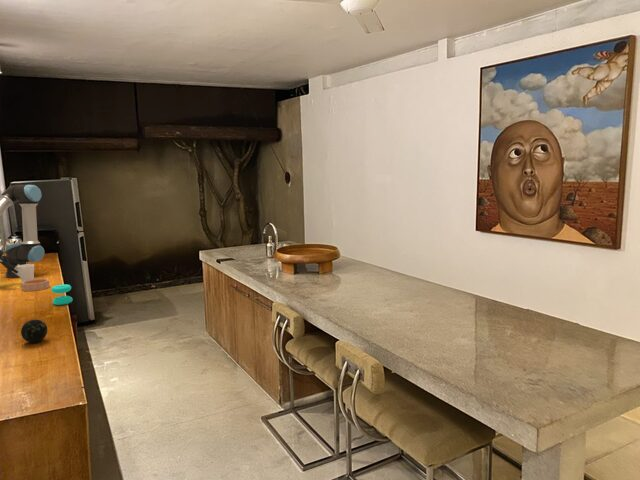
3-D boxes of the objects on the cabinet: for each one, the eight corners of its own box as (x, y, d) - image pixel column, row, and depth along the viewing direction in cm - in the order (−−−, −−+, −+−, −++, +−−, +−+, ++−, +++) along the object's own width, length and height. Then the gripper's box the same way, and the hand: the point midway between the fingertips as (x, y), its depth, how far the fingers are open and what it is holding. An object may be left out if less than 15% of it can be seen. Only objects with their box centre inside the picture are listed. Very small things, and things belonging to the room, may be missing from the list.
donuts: (72, 283, 283) (68, 287, 273) (74, 300, 284) (70, 304, 275) (53, 284, 280) (48, 288, 270) (55, 301, 282) (50, 306, 272)
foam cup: (39, 283, 329) (37, 264, 327) (30, 286, 319) (27, 266, 317) (26, 283, 330) (23, 264, 327) (16, 286, 320) (14, 267, 318)
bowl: (24, 287, 318) (23, 280, 317) (50, 284, 324) (49, 277, 323) (20, 292, 304) (20, 285, 304) (48, 289, 310) (47, 282, 310)
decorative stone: (53, 337, 222) (50, 316, 220) (41, 345, 212) (38, 323, 210) (30, 338, 221) (27, 316, 220) (17, 346, 211) (14, 324, 210)
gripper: (-7, 254, 324) (22, 274, 333) (-15, 260, 302) (16, 282, 310) (2, 245, 326) (30, 265, 334) (-6, 251, 303) (25, 272, 311)
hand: (24, 273), depth 322 cm, fingers open, 13 cm apart
